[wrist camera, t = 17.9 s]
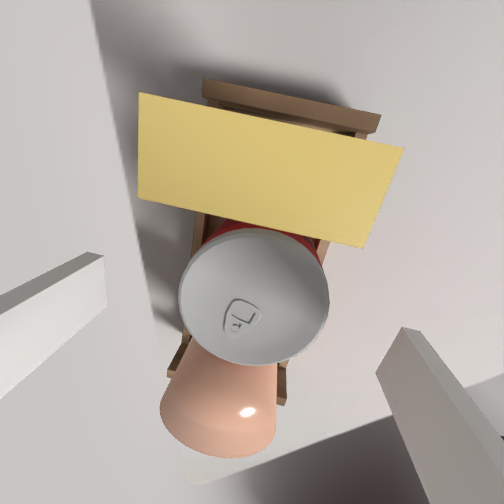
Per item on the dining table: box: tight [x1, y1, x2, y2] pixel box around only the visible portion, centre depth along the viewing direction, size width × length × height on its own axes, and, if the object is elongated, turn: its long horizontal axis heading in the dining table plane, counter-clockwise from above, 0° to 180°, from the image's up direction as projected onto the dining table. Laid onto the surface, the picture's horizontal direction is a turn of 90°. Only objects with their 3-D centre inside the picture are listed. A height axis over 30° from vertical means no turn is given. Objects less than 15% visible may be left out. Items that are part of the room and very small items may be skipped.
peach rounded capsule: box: [160, 337, 277, 458], centre depth 20 cm, size 8×8×11 cm
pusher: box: [137, 92, 404, 249], centre depth 11 cm, size 1×9×18 cm, turn 78°
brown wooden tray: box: [167, 78, 381, 406], centre depth 21 cm, size 25×12×6 cm, turn 169°
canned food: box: [178, 218, 330, 366], centre depth 17 cm, size 8×8×11 cm
